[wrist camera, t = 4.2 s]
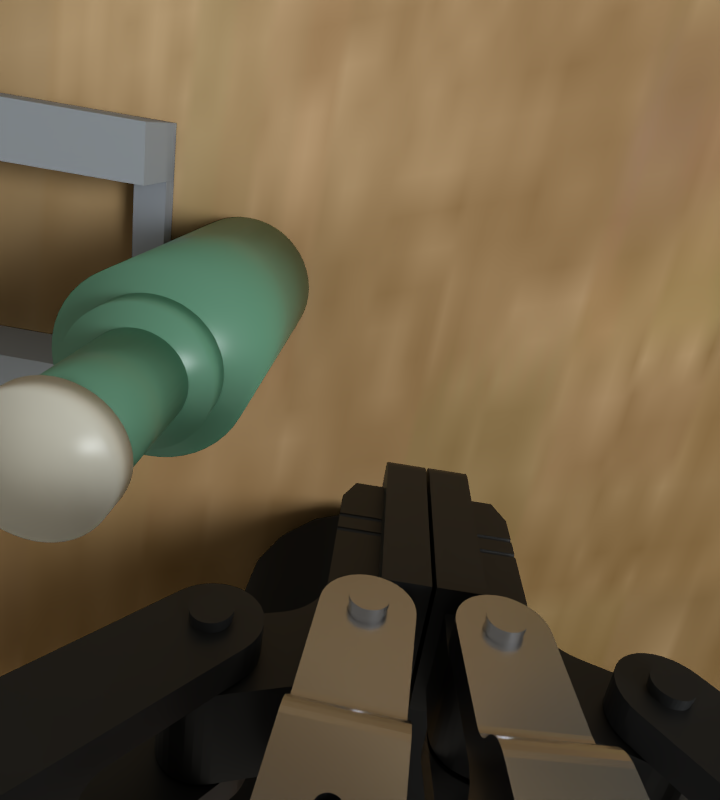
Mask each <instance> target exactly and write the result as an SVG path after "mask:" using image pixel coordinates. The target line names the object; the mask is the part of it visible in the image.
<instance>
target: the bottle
mask: <svg viewBox="0 0 720 800" xmlns="http://www.w3.org/2000/svg"><path fill="white" fill-rule="evenodd" d="M308 291H309V284H308V276H307V271H306V268H305V265H304V262H303V260H302V258H301V255H300V253H299V252H298V250H297V249H296V247H295V246H294V245H293V243H292V242H291V241H290V240H289V239H288V238H287V237H286V236H285V235H284V234H283V233H282V232H280V231H279V230H277V229H276V228H274V227H273V226H271V225H269V224H267V223H265V222H262V221H259V220H256V219H252V218H245V217H232V218H226V219H222V220H219V221H216V222H213V223H211V224H209V225H206V226H204V227H202V228H199V229H197V230H195V231H193V232H190V233H188V234H186V235H183V236H181V237H179V238H176V239H174V240H172V241H169V242H167V243H165V244H163V245H160V246H158V247H156V248H153V249H151V250H149V251H146V252H144V253H142V254H139V255H137V256H135V257H132V258H130V259H128V260H126V261H123V262H121V263H119V264H116V265H114V266H112V267H109V268H107V269H105V270H102V271H100V272H98V273H96V274H94V275H92V276H90V277H89V278H88V279H86V280H85V281H83V282H82V283H80V284H79V285H78V286H77V287H76V288H75V289H74V290H73V291H72V292H71V293H70V295H69V296H68V297H67V299H66V300H65V301H64V303H63V305H62V307H61V309H60V311H59V313H58V315H57V318H56V321H55V324H54V329H53V334H52V359H53V365H54V366H52V367H51V368H49V369H47V370H46V371H44V372H43V373H41V374H40V375H30V376H23V377H19V378H16V379H13V380H11V381H8V382H6V383H4V384H2V385H1V386H0V528H1V529H2V530H4V531H6V532H8V533H11V534H13V535H15V536H18V537H21V538H24V539H28V540H32V541H39V542H64V541H68V540H73V539H76V538H78V537H81V536H83V535H85V534H87V533H89V532H90V531H92V530H93V529H94V528H96V527H97V526H98V525H99V524H100V523H101V522H102V521H103V520H104V518H105V517H106V516H107V515H108V513H109V512H110V511H111V510H112V508H113V507H114V506H115V505H116V504H117V502H118V501H119V500H120V499H121V497H122V496H123V494H124V493H125V491H126V490H127V488H128V485H129V483H130V480H131V477H132V473H133V467H134V465H135V464H136V463H137V462H138V461H139V460H140V458H141V457H142V456H143V455H149V456H157V457H174V456H182V455H187V454H191V453H195V452H197V451H200V450H202V449H205V448H207V447H209V446H210V445H212V444H214V443H216V442H217V441H218V440H220V439H221V438H222V437H223V436H225V435H226V434H227V433H228V432H229V430H230V429H231V428H232V427H233V426H234V425H235V423H236V422H237V420H238V419H239V418H240V416H241V414H242V413H243V411H244V409H245V408H246V406H247V405H248V403H249V401H250V400H251V398H252V396H253V395H254V393H255V392H256V390H257V388H258V387H259V385H260V383H261V382H262V380H263V379H264V377H265V375H266V374H267V372H268V371H269V369H270V367H271V366H272V364H273V362H274V361H275V359H276V358H277V356H278V354H279V353H280V351H281V349H282V348H283V346H284V345H285V343H286V341H287V340H288V338H289V336H290V335H291V333H292V332H293V330H294V328H295V327H296V325H297V323H298V322H299V320H300V318H301V317H302V315H303V313H304V310H305V307H306V304H307V299H308Z"/></svg>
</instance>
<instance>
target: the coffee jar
mask: <svg viewBox="0 0 720 800" xmlns="http://www.w3.org/2000/svg"><path fill="white" fill-rule="evenodd" d="M339 516H340V515H337V516H331V517H325V518H319V519H315V520H313V521H311V522H309V523H307V524H305V525H303V526H301V527H299V528H297V529H295V530H293V531H291V532H289V533H286V534H285V535H283V536H282V537H280V538H279V539H278V540H277V541H276V542H275V543H274V544H273V545H272V546H271V547H270V548H269V550H268V551H267V552H266V553H265V554H264V555H263V556H262V557H261V558H260V559H259V560H258V561H257V564H256V566H255V568H254V571H253V573H252V575H251V578H250V580H249V582H248V585H247V587H246V589H245V591H246V592H247V593H249V594H250V595H252V596H253V597H254V598H255V599H256V600H257V601H258V603H259V604H260V605H261V607H262V610H263V612H264V613H275V612H285V611H291V610H295V609H299V608H302V607H304V606H307V605H308V604H310V603H312V602H314V601H315V600H316V599H317V598H319V597H320V595H321V593H322V591H323V589H324V588H325V587H326V586H327V583H328V579H329V573H330V568H331V562H332V556H333V550H334V544H335V539H336V533H337V527H338V521H339ZM407 720H409V721H411V722H412V737H411V750H410V763H409V776H408V788H407V800H425V795H424V785H423V776H422V766H421V751H422V747H423V743H424V739H425V735H426V731H427V712H424V711H418V710H412V709H409V705H408V717H407ZM256 780H257V777H253V778H247V779H245V781H244V782H243V784H242V786H241V788H240V789H239V790H238V792H237V793H236V794H235V795H234V796H233V797H232V798H230V799H229V800H250V799H251V795H252V792H253V789H254V786H255V783H256Z"/></svg>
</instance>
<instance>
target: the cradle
mask: <svg viewBox="0 0 720 800" xmlns="http://www.w3.org/2000/svg"><path fill="white" fill-rule="evenodd" d="M176 124H177V123H172V122H166V121H160V120H155V119H149V118H143V117H137V116H132V115H126V114H120V113H114V112H109V111H103V110H97V109H91V108H85V107H80V106H74V105H68V104H62V103H57V102H51V101H45V100H39V99H34V98H28V97H22V96H16V95H11V94H5V93H0V161H5V162H10V163H16V164H22V165H27V166H33V167H39V168H45V169H50V170H56V171H62V172H68V173H73V174H79V175H85V176H91V177H96V178H102V179H108V180H113V181H119V182H125V183H131V184H134V200H133V237H132V257H135V256H137V255H139V254H142V253H144V252H146V251H149V250H151V249H153V248H156V247H158V246H160V245H163V244H165V243H167V242H169V241H171V225H172V205H173V185H174V165H175V144H176ZM52 366H54V365H53V359H52V334H47V333H41V332H35V331H30V330H24V329H18V328H13V327H7V326H1V325H0V386H1V385H2V384H4V383H6V382H8V381H11V380H13V379H16V378H19V377H23V376H30V375H40V374H41V373H43V372H44V371H46V370H47V369H49V368H51V367H52Z"/></svg>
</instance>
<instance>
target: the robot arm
mask: <svg viewBox="0 0 720 800" xmlns="http://www.w3.org/2000/svg"><path fill="white" fill-rule="evenodd" d="M408 705H409V709H412V710H418V711H424V712H427V731H426V735H425V739H424V743H423V747H422V751H421V766H422V776H423V785H424V795H425V800H720V691H718V690H717V689H716V688H714V687H713V686H712V685H710V684H709V683H708V682H706V681H705V680H704V679H702V678H701V677H700V676H698V675H697V674H696V673H694V672H693V671H691V670H690V669H688V668H686V667H685V666H683V665H681V664H679V663H677V662H675V661H673V660H670V659H667V658H665V657H662V656H658V655H654V654H646V653H636V654H630V655H627V656H625V657H623V658H622V659H620V660H619V662H618V663H617V664H616V667H615V669H614V672H613V673H612V672H610V671H607V670H605V669H602V668H600V667H597V666H595V665H592V664H590V663H587V662H585V661H582V660H580V659H578V658H575V657H573V656H571V655H569V654H567V653H565V652H564V651H562V650H560V649H559V648H558V647H557V644H556V642H555V639H554V637H553V634H552V632H551V630H550V628H549V626H548V625H547V623H546V622H545V621H544V620H543V619H542V618H541V617H540V615H538V614H537V613H536V612H535V611H533V610H532V609H530V608H529V607H527V603H526V599H525V595H524V591H523V587H522V583H521V579H520V575H519V571H518V567H517V563H516V559H515V558H514V551H513V547H512V544H511V543H510V536H509V532H508V528H507V524H506V521H505V520H504V519H503V518H502V516H501V515H500V514H499V513H498V512H497V511H496V510H495V508H494V507H493V506H492V505H491V504H486V503H479V502H473V501H471V496H470V490H469V485H468V479H467V475H466V474H461V473H455V472H448V471H442V470H436V469H429V468H428V469H427V471H426V469H425V468H422V467H416V466H410V465H403V464H397V463H391V462H387V466H386V470H385V475H384V481H383V486H382V487H378V486H371V485H365V484H359V483H356V484H355V485H354V486H353V487H352V488H351V489H350V490H349V491H347V492H346V493H345V494H344V495H343V498H342V504H341V510H340V516H339V521H338V527H337V533H336V539H335V544H334V550H333V556H332V562H331V568H330V573H329V579H328V583H327V586H326V587H325V588H324V589H323V591H322V593H321V595H320V597H319V598H317V599H316V600H315V601H314V602H312V603H310V604H308V605H307V606H304V607H302V608H299V609H295V610H291V611H285V612H275V613H264V612H263V610H262V607H261V605H260V604H259V603H258V601H257V600H256V599H255V598H254V597H253V596H252V595H250V594H249V593H247V592H246V591H244V590H242V589H240V588H237V587H234V586H230V585H225V584H215V583H212V584H200V585H195V586H191V587H188V588H185V589H183V590H180V591H178V592H176V593H174V594H172V595H170V596H168V597H166V598H164V599H162V600H159V601H157V602H155V603H153V604H151V605H149V606H147V607H145V608H143V609H141V610H139V611H137V612H134V613H132V614H130V615H128V616H126V617H124V618H122V619H120V620H118V621H116V622H114V623H112V624H109V625H107V626H105V627H103V628H101V629H99V630H97V631H95V632H93V633H91V634H89V635H86V636H84V637H82V638H80V639H78V640H76V641H74V642H72V643H70V644H68V645H66V646H64V647H61V648H59V649H57V650H55V651H53V652H51V653H49V654H47V655H45V656H43V657H41V658H39V659H36V660H34V661H32V662H30V663H28V664H26V665H24V666H22V667H20V668H18V669H16V670H13V671H11V672H9V673H7V674H5V675H3V676H1V677H0V800H229V799H230V798H232V797H233V796H234V795H235V794H236V793H237V792H238V790H239V789H240V788H241V786H242V784H243V782H244V781H245V779H247V778H253V777H257V780H256V783H255V786H254V789H253V792H252V795H251V799H250V800H407V788H408V776H409V763H410V750H411V737H412V722H411V721H409V720H407V717H408Z"/></svg>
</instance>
